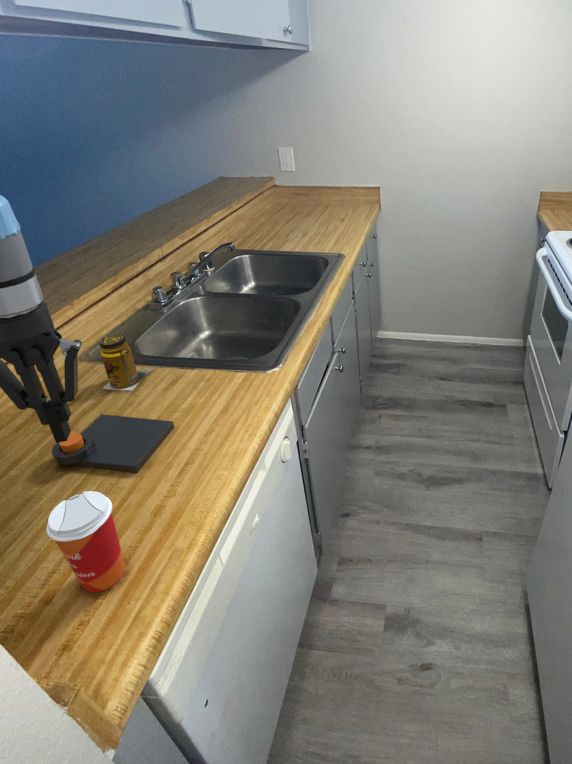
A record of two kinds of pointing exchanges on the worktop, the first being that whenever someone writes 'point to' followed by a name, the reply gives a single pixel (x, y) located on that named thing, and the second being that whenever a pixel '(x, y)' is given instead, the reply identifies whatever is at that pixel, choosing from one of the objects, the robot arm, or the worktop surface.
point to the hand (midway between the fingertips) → (63, 436)
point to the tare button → (72, 443)
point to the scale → (116, 443)
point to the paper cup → (88, 539)
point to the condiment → (120, 364)
